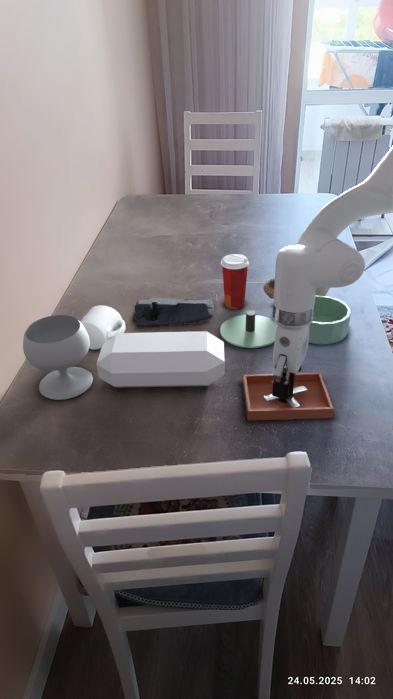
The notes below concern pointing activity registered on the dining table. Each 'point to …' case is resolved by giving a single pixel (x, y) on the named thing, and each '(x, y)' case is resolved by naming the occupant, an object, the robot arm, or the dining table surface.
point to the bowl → (329, 320)
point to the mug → (102, 325)
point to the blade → (292, 392)
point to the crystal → (161, 359)
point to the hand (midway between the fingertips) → (287, 382)
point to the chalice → (58, 355)
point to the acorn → (269, 288)
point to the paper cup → (234, 279)
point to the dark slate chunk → (172, 311)
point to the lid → (249, 330)
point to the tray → (310, 402)
